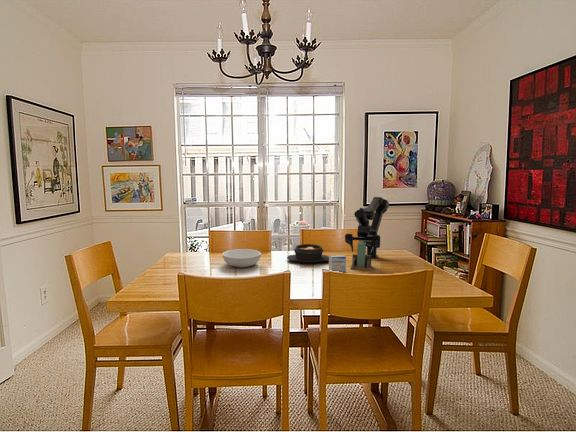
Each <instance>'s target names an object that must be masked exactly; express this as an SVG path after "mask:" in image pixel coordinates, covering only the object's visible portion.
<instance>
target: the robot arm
mask: <svg viewBox="0 0 576 432" xmlns="http://www.w3.org/2000/svg"><path fill="white" fill-rule="evenodd" d="M389 207H390V203H389V200H387V199H384V198H383V197H382V196H373V198H372V200H371V202H370V203H369V204H368V206H367V207H366V206H365V207H359V209H357V210H356V211H355V212H354V214H353V215H354V217H355V220H356V222H357V223H358V226H357V231H356V235H357V236H354V235H353V233H345V234H344V241H345V243H346V244H348V245H349V247H350V249H351V252H352V253H353V252H354V241H360V242H366V255H371V259H376V258H378V256H379V255H378V254H377V252H378V251H377V249H378V248H381V235H379V234H378V233H379V229H380V226H381V221H382V218H383V216H384V214H385V213H386V212H387V211H388V208H389ZM370 221H372V222H371V225H370Z"/></svg>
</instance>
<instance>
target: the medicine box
mask: <svg viewBox="0 0 576 432" xmlns="http://www.w3.org/2000/svg"><path fill="white" fill-rule="evenodd" d="M328 256H329V260H328V271H329V270H332V271H339V272H347V256H346V255H344V254H338V255H337V254H335V255H333V254H332V255H328Z"/></svg>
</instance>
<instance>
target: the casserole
mask: <svg viewBox="0 0 576 432" xmlns="http://www.w3.org/2000/svg"><path fill="white" fill-rule="evenodd" d="M293 251H294V254H290V255H288V256H287V257H286V259H287V260H288V261H290V262H291V261H293V262H299V263H302V264H315V263H318V262H319V263H320V262H326V261H328V262H329V256H330V255H326V254H323V252H324V249H323V247H322V246H321V245H318V244H315V243H314V244H312V243H307V244H304V243H303V244H298V245H296V246H295V248H294V249H293Z"/></svg>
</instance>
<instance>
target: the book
mask: <svg viewBox="0 0 576 432" xmlns="http://www.w3.org/2000/svg"><path fill="white" fill-rule="evenodd" d="M356 249H357V251H356V253H357V266H358V267H365V258H366V255H367V247H366V242H363V241H358V242H357V248H356Z"/></svg>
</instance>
